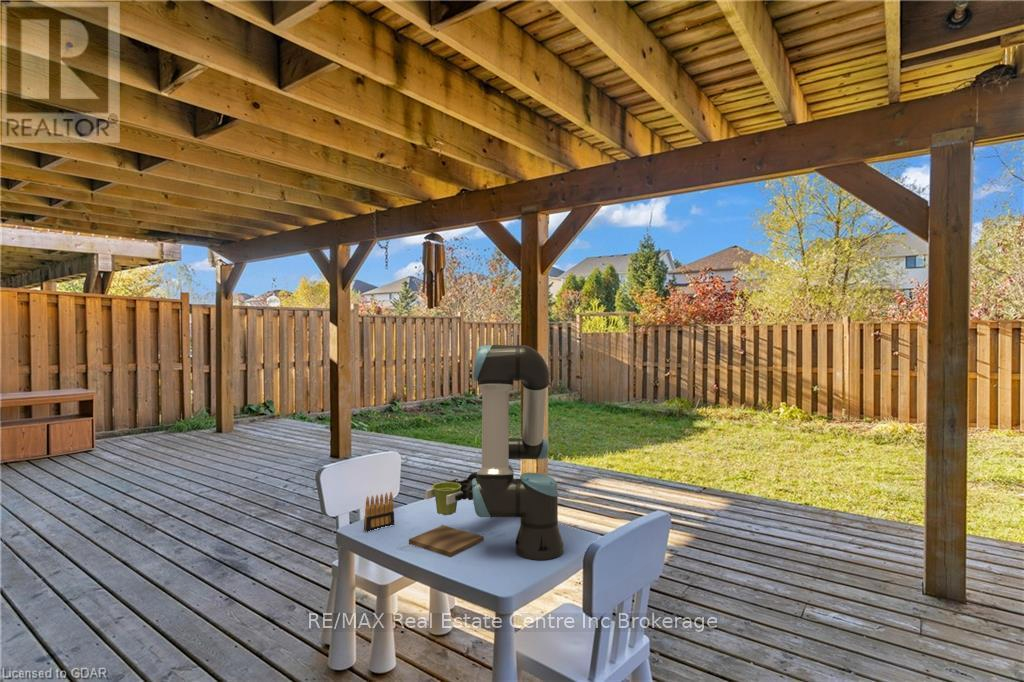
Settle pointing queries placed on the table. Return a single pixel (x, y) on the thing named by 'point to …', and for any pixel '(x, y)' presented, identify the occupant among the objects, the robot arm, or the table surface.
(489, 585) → the table surface
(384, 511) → the ammunition clip
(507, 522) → the table surface
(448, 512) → the plant pot
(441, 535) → the walnut board
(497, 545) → the table surface
